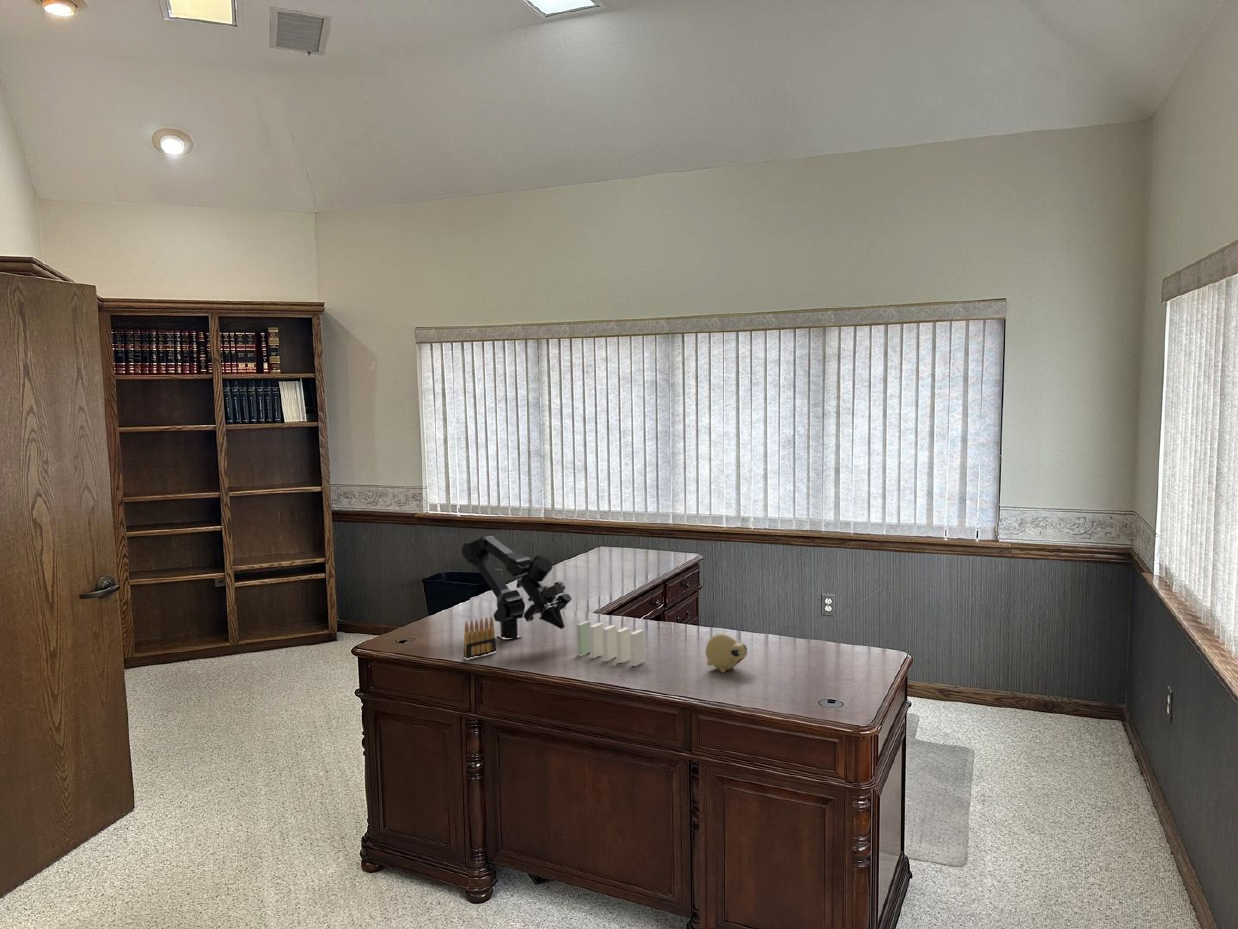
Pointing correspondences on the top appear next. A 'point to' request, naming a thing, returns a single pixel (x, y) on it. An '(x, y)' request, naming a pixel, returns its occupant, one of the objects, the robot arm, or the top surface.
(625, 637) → the domino
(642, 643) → the domino
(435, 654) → the top surface
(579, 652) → the domino
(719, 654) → the beige round figure
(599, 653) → the domino
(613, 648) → the domino
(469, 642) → the ammunition clip
